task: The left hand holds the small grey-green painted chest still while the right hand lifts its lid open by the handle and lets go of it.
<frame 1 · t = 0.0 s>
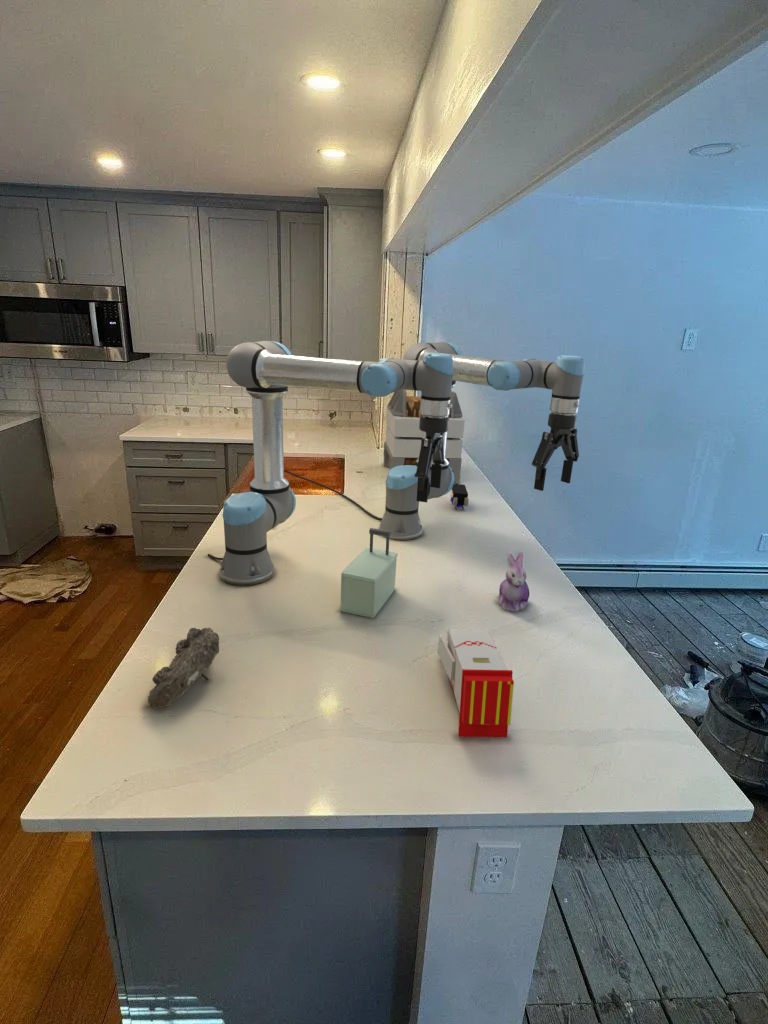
left hand: (428, 494, 153), 28 cm above the counter, tool pointing down, fingers open, 13 cm apart
right hand: (552, 485, 166), 28 cm above the counter, tool pointing down, fingers open, 13 cm apart
toy: (469, 691, 119), on the counter
figurine: (513, 604, 155), on the counter
lid: (370, 552, 149), point 14 cm above the counter, hinge at 0.0°
chest: (368, 599, 154), on the counter
fossil: (190, 678, 119), on the counter
figurine character: (458, 506, 231), on the counter
light grey boxy piece: (419, 473, 275), on the counter
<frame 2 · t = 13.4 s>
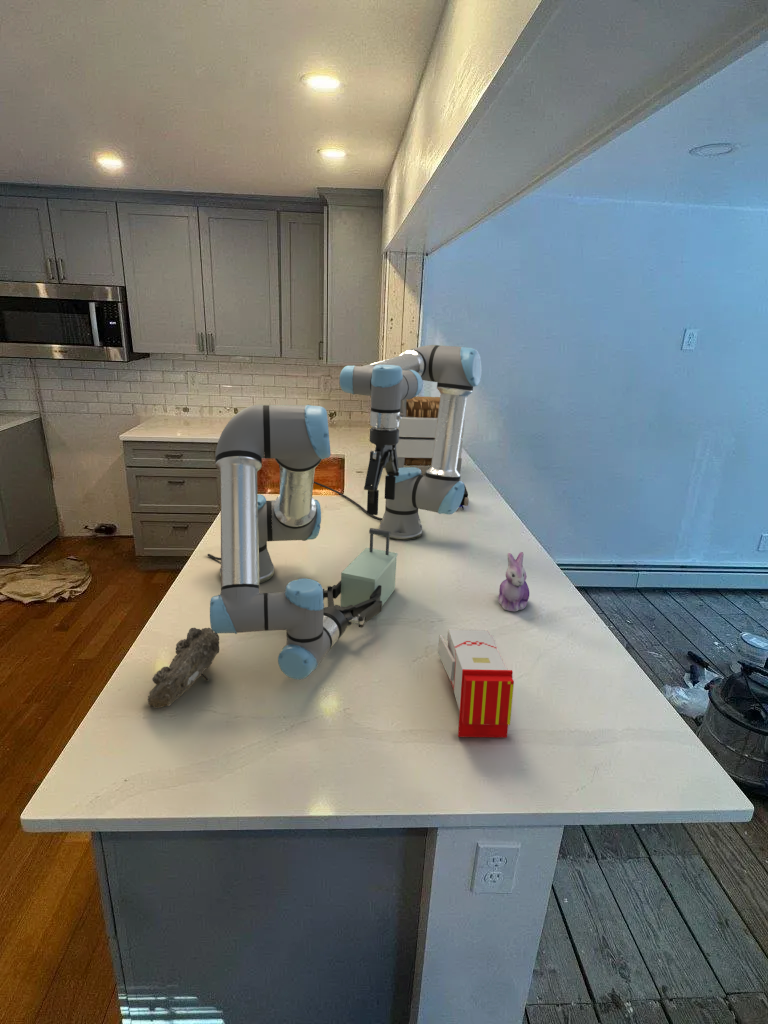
left hand: (361, 586, 147), 7 cm above the counter, tool horizontal, fingers closed on chest, 9 cm apart
right hand: (381, 506, 152), 25 cm above the counter, tool pointing down, fingers open, 13 cm apart
chest: (368, 599, 154), on the counter, touching left hand
everything else where it was.
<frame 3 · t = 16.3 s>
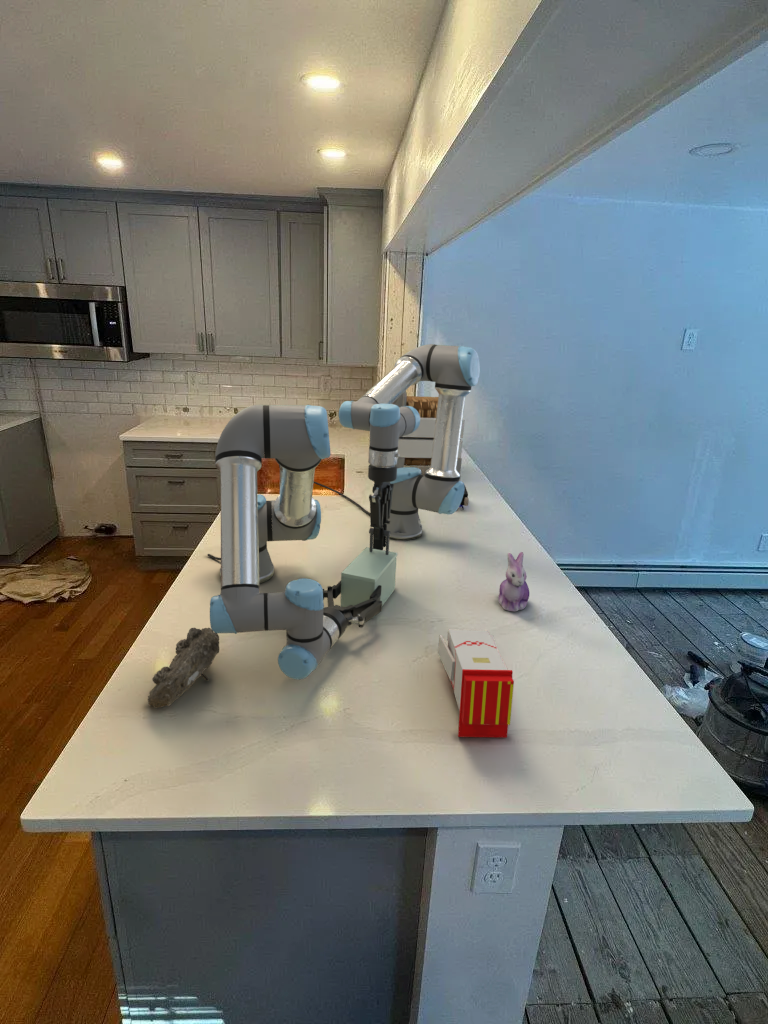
left hand: (361, 586, 147), 7 cm above the counter, tool horizontal, fingers closed on chest, 9 cm apart
right hand: (379, 547, 156), 13 cm above the counter, tool pointing down, fingers closed on lid, 2 cm apart
lid: (370, 552, 149), point 14 cm above the counter, hinge at 0.3°, touching right hand
chest: (368, 599, 154), on the counter, touching left hand
everything else where it was.
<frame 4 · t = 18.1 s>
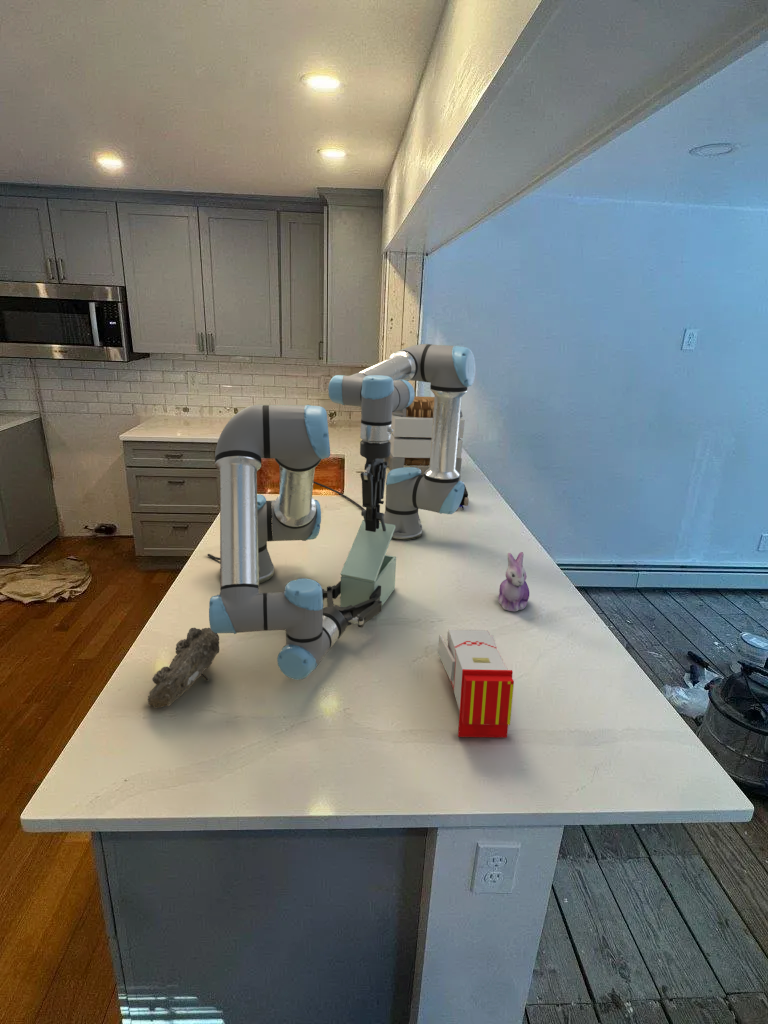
left hand: (361, 586, 147), 7 cm above the counter, tool horizontal, fingers closed on chest, 9 cm apart
right hand: (372, 529, 147), 21 cm above the counter, tool pointing down, fingers closed on lid, 2 cm apart
lid: (366, 542, 145), point 18 cm above the counter, hinge at 31.8°, touching right hand
chest: (368, 599, 154), on the counter, touching left hand
everything else where it was.
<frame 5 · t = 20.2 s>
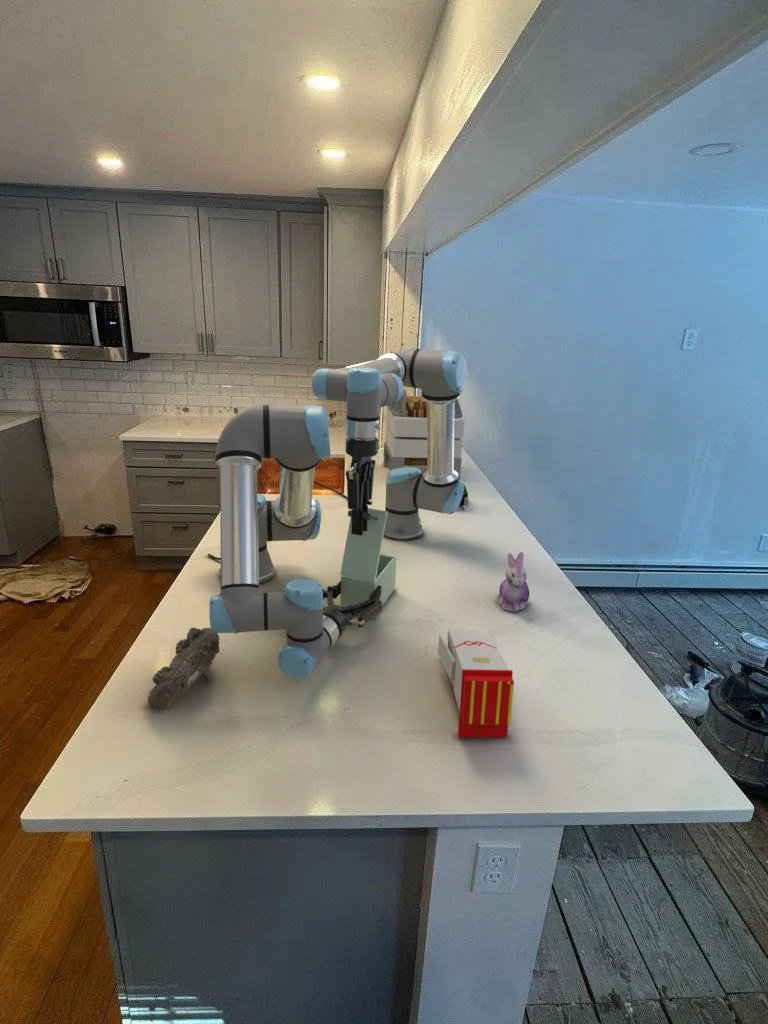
left hand: (361, 586, 147), 7 cm above the counter, tool horizontal, fingers closed on chest, 9 cm apart
right hand: (359, 531, 138), 23 cm above the counter, tool pointing down, fingers open, 2 cm apart
lid: (359, 542, 140), point 20 cm above the counter, hinge at 64.9°
chest: (368, 599, 154), on the counter, touching left hand
everything else where it was.
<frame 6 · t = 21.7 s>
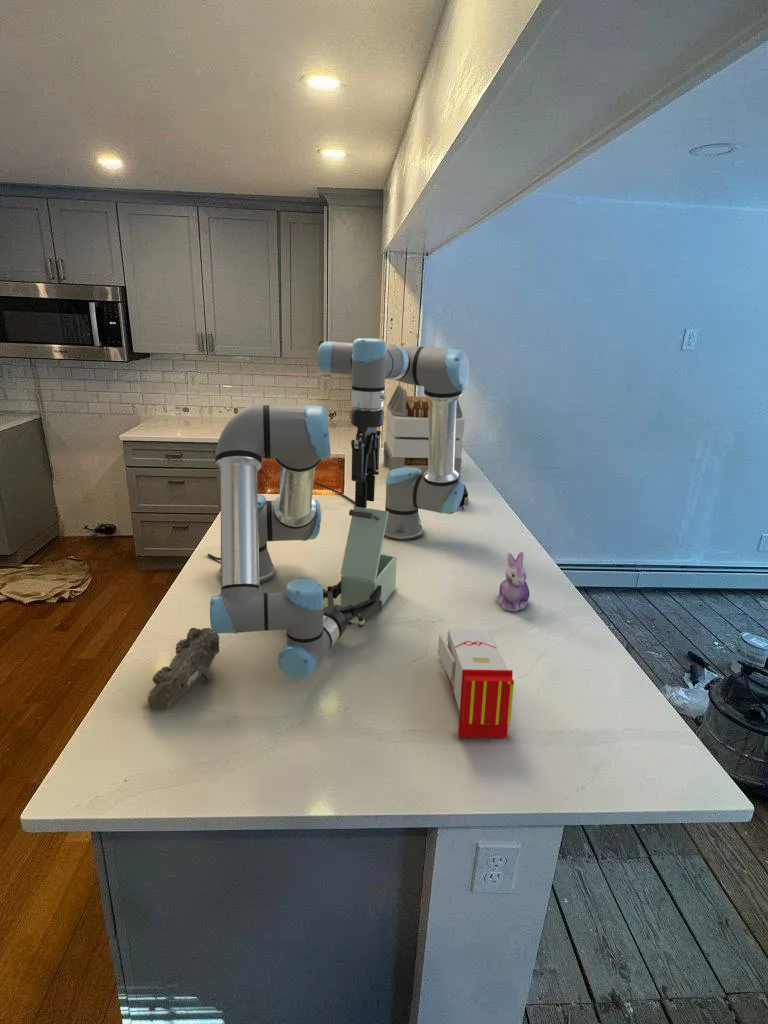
left hand: (362, 586, 147), 7 cm above the counter, tool horizontal, fingers closed on chest, 9 cm apart
right hand: (364, 503, 139), 30 cm above the counter, tool pointing down, fingers open, 5 cm apart
lid: (360, 542, 140), point 20 cm above the counter, hinge at 62.5°
chest: (369, 599, 154), on the counter, touching left hand
everything else where it was.
when the left hand's fingers open (7 cm above the counter, at t = 24.4 s): chest stays where it is, on the counter.
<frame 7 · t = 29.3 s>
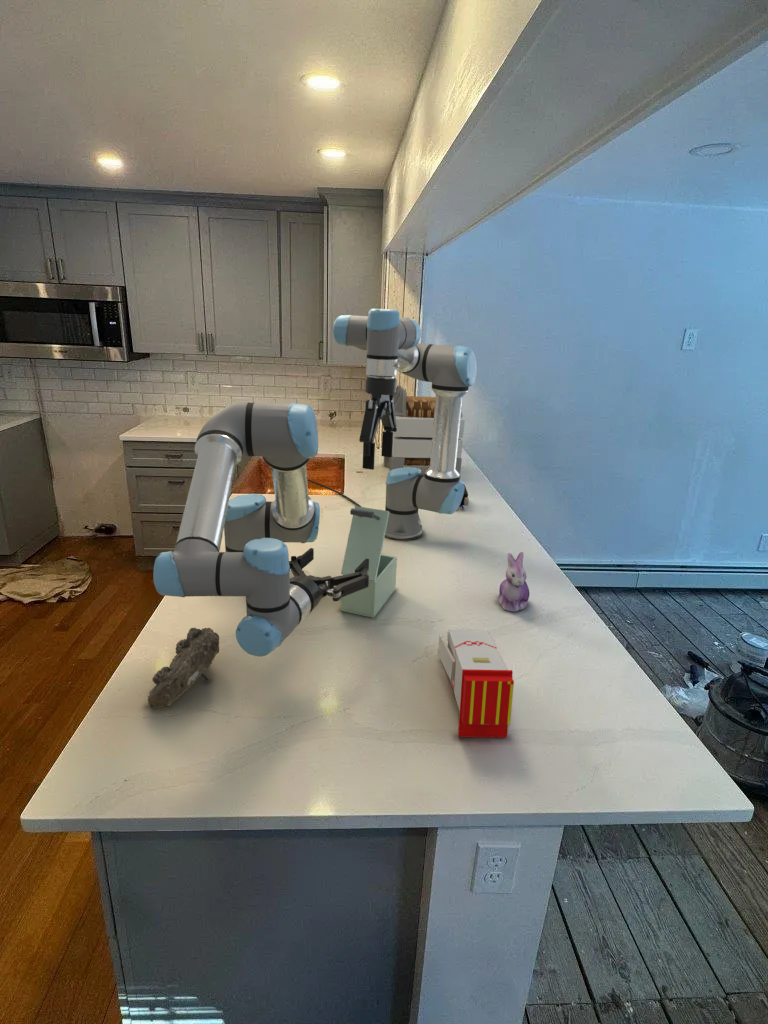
left hand: (339, 558, 128), 21 cm above the counter, tool horizontal, fingers open, 13 cm apart
right hand: (377, 462, 144), 38 cm above the counter, tool pointing down, fingers open, 13 cm apart
chest: (369, 599, 154), on the counter
everything else where it was.
at the end: lid at +62° (first picture: +0°); the left hand is holding nothing; the right hand is holding nothing; chest tilted 0°; chest never tilted more than 2° during the clip; chest moved 0.2 cm from its start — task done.
